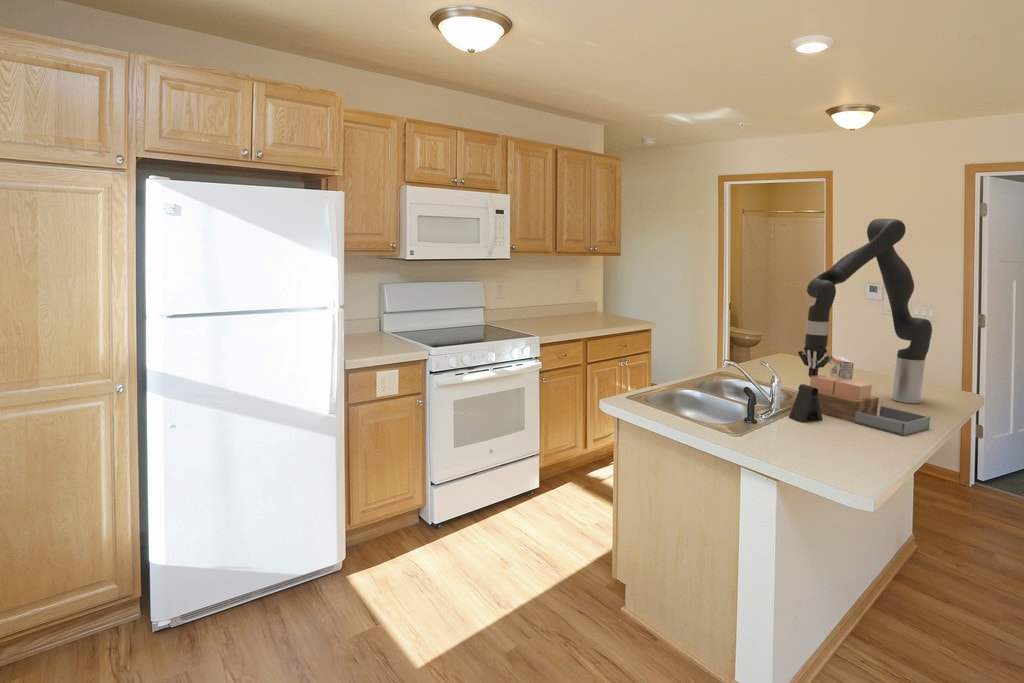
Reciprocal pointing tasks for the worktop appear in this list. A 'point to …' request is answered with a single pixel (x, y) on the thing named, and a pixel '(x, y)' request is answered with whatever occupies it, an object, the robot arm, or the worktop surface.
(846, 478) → the worktop surface
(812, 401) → the phone stand
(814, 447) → the worktop surface
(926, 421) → the tray
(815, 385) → the pink rectangular block
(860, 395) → the tile front
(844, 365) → the candy bar box
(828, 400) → the brown wooden block
